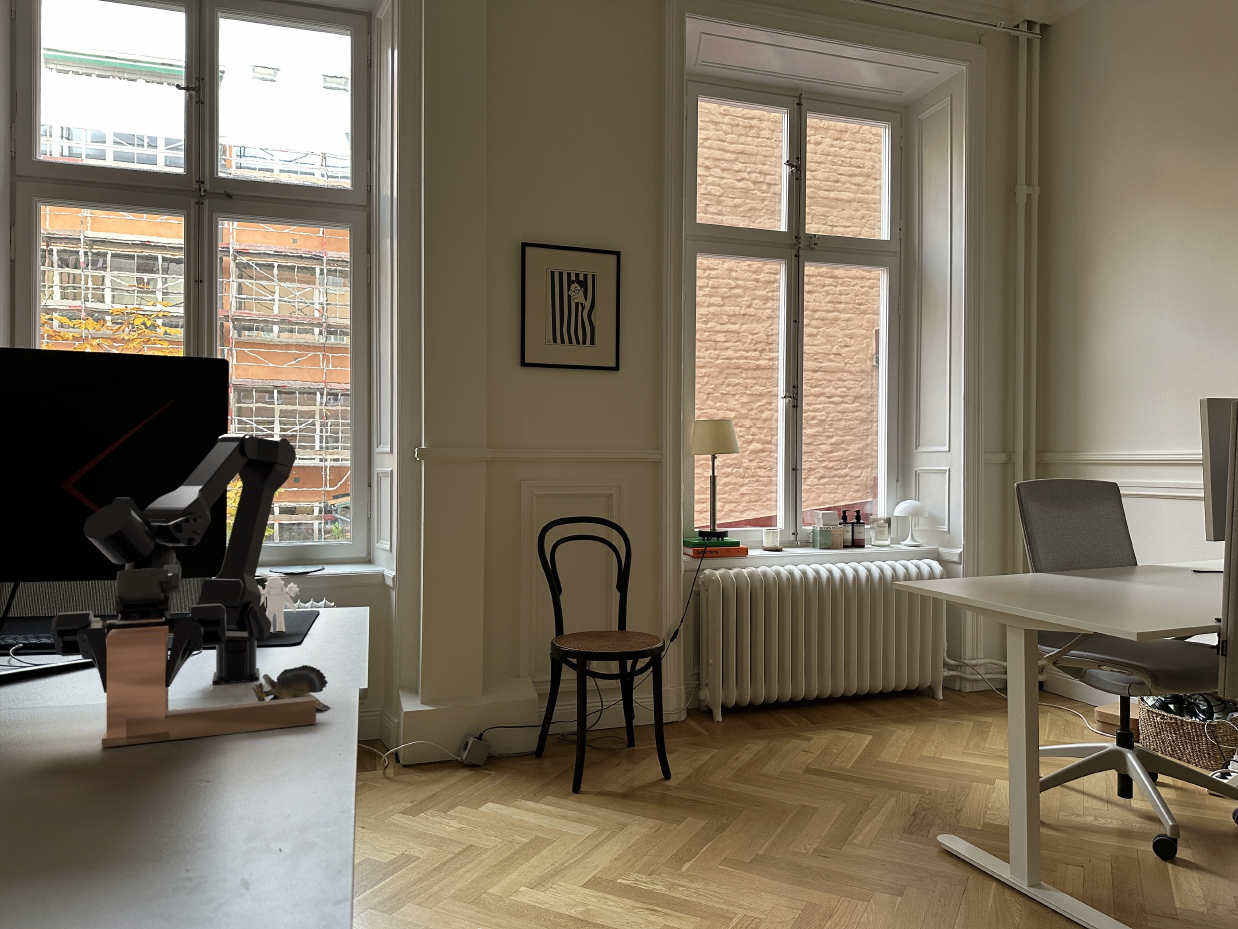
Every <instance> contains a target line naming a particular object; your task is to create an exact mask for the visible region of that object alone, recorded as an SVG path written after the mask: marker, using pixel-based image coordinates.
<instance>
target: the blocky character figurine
mask: <svg viewBox="0 0 1238 929" xmlns="http://www.w3.org/2000/svg"><path fill="white" fill-rule="evenodd" d="M259 577H261V579H262V578H263V579H264V581H266V582H264V584H265V588H264V589H263V588H262V586H260V585H258V588H259V590H260V593H261V603H260V607H261V605H262V604H263V603H264V607H265V608H266V597H267V608H266V611H265V614H266V616H267V617H268V618H269V620H270V621H271V623H272V624H271V630H270V632H272V633H274V627H273V626H274V625H273V620H274V616H275V618H276V631H283V632H286V628H285V617H284V616H285V614H284V612H285V610H284V608H285V606H286V603H287V605H288V608H289V609H290V610H292V612H293V613H296V611H297V607H296V605H295V602H294V601H293V599H292V598H291V597H295V596H296V595H298V596H299V594H300V592H299V591H300V588H299V587H298V584H295V583H293V581H292V582H291V583H290V584H287V587H284V586H285V585H284V584H285V582H284V581H283V579H282V578H281V577H280V576H270V573H267V574H266V573H263V572H260V573H259ZM265 578H266V579H267V580H266V579H265Z"/></svg>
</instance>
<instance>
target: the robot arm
mask: <svg viewBox="0 0 1238 929" xmlns="http://www.w3.org/2000/svg"><path fill="white" fill-rule="evenodd" d="M296 452H297V451H296V449H295V446H294V445H292V444H291V442H290V441H289V439H287V438H286V437H262V438H261V437H258V436H254V435H250V434H248V433H226V434H223V435H221V436H219V437H217V440H216V441H215V446H214V447H213V448H212V450H210V452H209V453H208V454H207V455H206V457H204V459H203V460H202V461H201V462H200V464H198V466H197V467H196V468H195V469H194V470H193V472H192V473H191V474H190V475H189V476H188V477H187V478H186V480H184V482H183V483H182V484H181V486H179V487H178V488H177V489H175V490H174V491H171V492H168V493H167V494H163V495H161V496H160V497H158V498H157V499H156V500H154V501H153V502H152V503H151V504H149V505H148V506H147V507H146V508H144V510H143V512H142V511H141V510H140V509H139V508H138V506H137V504H136V503H135V502H134V500H133V499H132V498H131V497H115V498H114V499H113V501H112V503H111V504H108V505H105V506H102V507H101V508H99V509H98V510H96V511H95V512H94V513H93V514H92V515H89V516H88V517H87V519H86V520H85V522H84V525H83V534H84V535H85V537H87V538H88V540H89V541H91V542H92V543H93V544H94V546H95V547H96V548H98V549H99V550H100V551H101V553H102V554H103V555H105V556H106V557H107V558H108V559H109V560H110V561H111V562H112V563H114V564H116V565H125V569H121V570H119V571H117V574H116V587H115V599H116V600H115V603H114V604H115V606H114V611H115V615H118V617H117V619H111V620H106V619H105V618H103V617H94V614H93V610H89V611H87V610H83V611H70V612H69V611H68V612H66V611H65V612H59V613H58V614H57V615H56V616H54V618H52V621H51V627H50V633H51V637H52V640H53V644H54V648H55V651H56V654H57V655H58V656H61V657H74V656H76V657H77V656H81V658H82V659H83V660H88V661H89V660H90V661H92V662H93V664H94V666H95V669H96V670H97V672H98V674H99V679H100V682H101V686H102V689H103V693H104V694H107V635H108V634H109V633H110V632H111V630H112V629H127V628H142V627H158V626H168V636H172V642H171V647H170V651H169V654H168V664H167V669H166V677H165V686H166V687H168V688H170V687H171V685H172V684H173V682H174V680H175V678H176V677H177V675H179V674H178V673H179V672H180V670H181V669H182V667H183V666H184V664H185V663H186V662H187V661H188V659H189V658H191V656H192V655H193V654H194V653H195V652H200V651H202V650H203V647H208V646H210V647H211V646H215V647H216V648H215V656H216V657H215V658H216V659H215V660H216V661H215V663H216V664H215V671H214V672H213V676H212V681H211V682H212V685H213V684H215V685H217V684H228V683H238V682H240V683H241V682H247V681H250V682H251V681H257V680H258V681H259V680H260V667H257V641H264V640H267V638H268V637H269V636H270V634H271V633H270V630H271V624H273V622H272V623H271V621H270V620H269V618H268V617H267V616H266V612H265V611H264V610H263V608H262V607H261V606H260V603H261V593H260V590H259V588H258V586H259V584H258V582H257V580H256V574H257V570H258V569H257V568H258V565H259V560H260V556H261V554H262V553H261V552H262V549H263V544H264V541H265V540H264V539H265V537H266V536H265V535H266V531H267V527H268V523H269V519H270V514H271V510H272V506H273V501H274V498H275V494H276V493H277V491H278V490H279V489H280V488H281V487H282V486H283V485H284V484H285V483H286V482H287V481H288V480H289V478H290V477H291V476H290V475H291V473H292V469H293V467H294V465H295V462H296V458H297V453H296ZM237 475H238V477H239V479H240V481H241V484H242V485H241V487H242V488H241V492H240V495H239V499H238V503H237V506H236V511H235V515H234V517H233V518H234V519H233V522H232V526H231V530H230V535H229V539H228V542H227V547H226V550H225V554H224V558H223V563H222V566H221V570H220V572H219V573H218V574H217V575H216V576H215V577H214V578H205V579H204V581H203V583H202V586H201V592H200V596H199V598H198V601H196V604H191V606H190V616H186V617H185V616H183V617H181V616H180V617H171V611H172V600H173V594H175V593H176V594H177V593H180V592H181V590H182V589H181V588H182V569H183V568H182V566H181V565H182V564H181V563H180V561H179V560H178V559H177V558H176V555H177V554H176V552H175V551H174V550H173V548H171V547H173V546H174V547H177V546H178V547H190V546H191V547H192V546H196V545H197V544H198V543H199V542H200V541H201V539H203V536H204V534H205V533H206V531H207V529H208V527H209V526H210V524H211V522H212V521H211V520H212V518H211V509H212V507H213V505H214V504H215V503H216V502H217V500H218V499H219V497H220V496H221V495H222V494H223V492H224V491H225V490H226V488H228V486H229V485H230V484H231V482H232V481H233V480H234V479H235V477H236V476H237Z"/></svg>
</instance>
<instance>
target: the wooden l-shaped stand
mask: <svg viewBox="0 0 1238 929" xmlns="http://www.w3.org/2000/svg"><path fill="white" fill-rule="evenodd" d="M168 659H169V635H168V626H158V627H142V628H127V629H112V630H111V632H110V633H109V634H108V635H107V693H106V731H105V733H104V734H103V736H102V738H101V748H110V747H112V748H113V747H118V746H119V747H120V746H128V745H139V744H145V743H146V744H147V743H155V742H162V741H163V742H164V741H172V740H173V741H174V740H182V739H188V738H189V739H190V738H191V739H192V738H199V737H208V736H217V735H225V734H232V733H233V734H234V733H244V732H253V731H263V730H270V729H279V728H288V727H296V726H305V725H313V724H314V725H315V724H317V708H316V698H317V697H316V696H315V695H314V696H310V697H300V698H290V699H280V700H270V699H269V700H270V701H268V700H265V701H260V702H258V701H252V702H243V703H241V702H240V703H234V704H232V703H231V704H225V705H224V704H223V705H222V704H221V705H214V706H213V705H212V706H211V705H210V706H203V707H193V708H192V707H191V708H183V709H181V708H180V709H170V710H169V687H166V686H165V677H166V669H167V664H168ZM315 697H316V698H315Z"/></svg>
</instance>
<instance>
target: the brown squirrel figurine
mask: <svg viewBox="0 0 1238 929" xmlns="http://www.w3.org/2000/svg"><path fill="white" fill-rule="evenodd" d="M326 678H327V676H326V675H324V672H322V671H321V669H318V668H317V667H314V666H312V665H308V664H306V665H305V664H302V665H300V666H295V667H293V668H287V669H284V670H283V671H281V673H280V674H278V675H277V676H276V680H274V679H273V678H272V677H271V676H270V675H269V674H267V673H264V674H263V675H262V679H263V681H264V683H265V684H266V686H268V688H269V689H268V690H265V688H264V687H263V682H260V683H258V684H254V686H253V687H252V690H253V693H254V695H255V697H256V698H257V702H260V701H266V700H265V699H266V697H271V696H272V697H271V698H270V699H268V700H267V701H270V700H280V699H290V698H300V697H310V696H315V695H313V694H317V693H322V692H323V691H324V688H326V687H327V684H329V682H328V681H327V679H326ZM315 698H316V709H318V710H320V711H330V710H331V706H330V705H327V704H325V703H323V702H322V701H321V700H319V699H318V697H316V696H315ZM329 709H330V710H329Z"/></svg>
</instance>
